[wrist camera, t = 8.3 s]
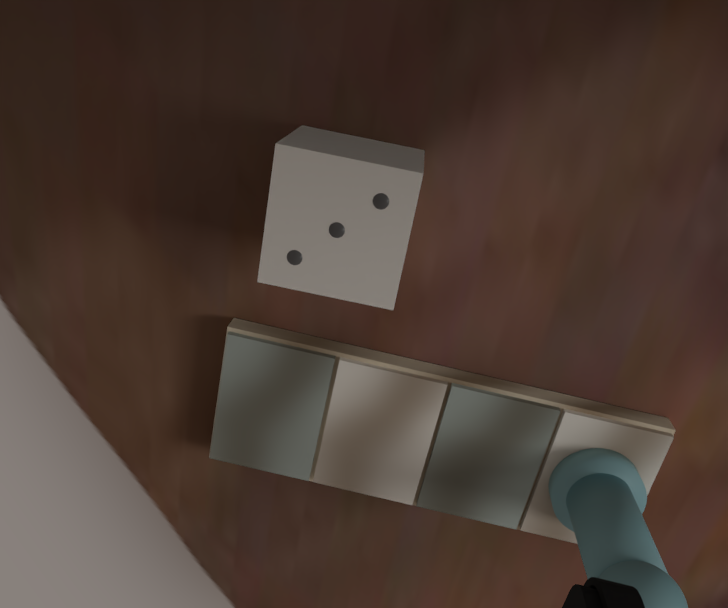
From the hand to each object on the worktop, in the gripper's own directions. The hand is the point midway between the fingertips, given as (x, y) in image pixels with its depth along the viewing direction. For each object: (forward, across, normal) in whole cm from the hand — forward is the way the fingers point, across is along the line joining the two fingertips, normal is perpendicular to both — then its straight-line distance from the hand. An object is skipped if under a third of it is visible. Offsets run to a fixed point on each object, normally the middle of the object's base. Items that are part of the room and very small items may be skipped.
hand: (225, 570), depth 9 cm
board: (+20, -5, +9) cm, 23 cm away
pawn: (+19, -13, +9) cm, 25 cm away
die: (+20, +1, -1) cm, 20 cm away
